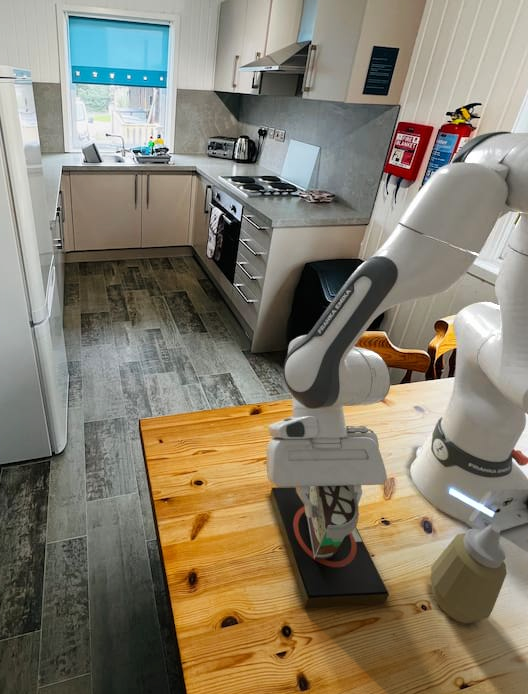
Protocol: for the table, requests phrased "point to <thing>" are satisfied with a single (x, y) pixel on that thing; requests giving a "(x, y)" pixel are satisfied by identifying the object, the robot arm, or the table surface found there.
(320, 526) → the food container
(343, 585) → the hob
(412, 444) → the table surface
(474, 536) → the squeeze bottle
